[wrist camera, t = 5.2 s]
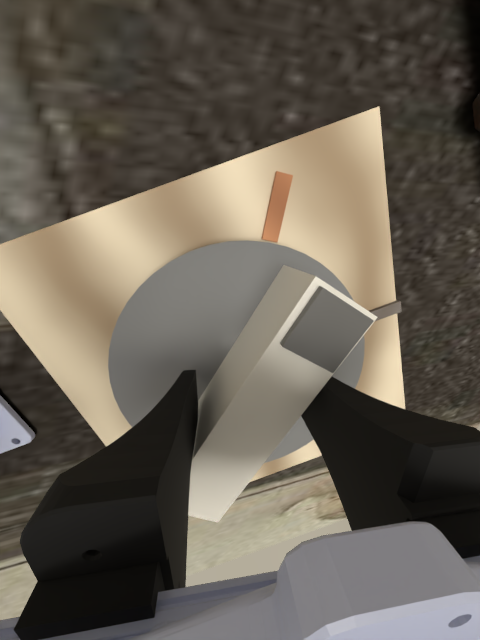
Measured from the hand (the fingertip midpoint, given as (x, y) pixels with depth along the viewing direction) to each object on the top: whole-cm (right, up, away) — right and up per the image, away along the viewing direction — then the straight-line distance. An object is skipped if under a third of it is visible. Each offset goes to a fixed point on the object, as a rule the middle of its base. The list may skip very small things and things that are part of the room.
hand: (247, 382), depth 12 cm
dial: (0, +1, +2) cm, 2 cm away
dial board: (0, +1, +4) cm, 4 cm away
